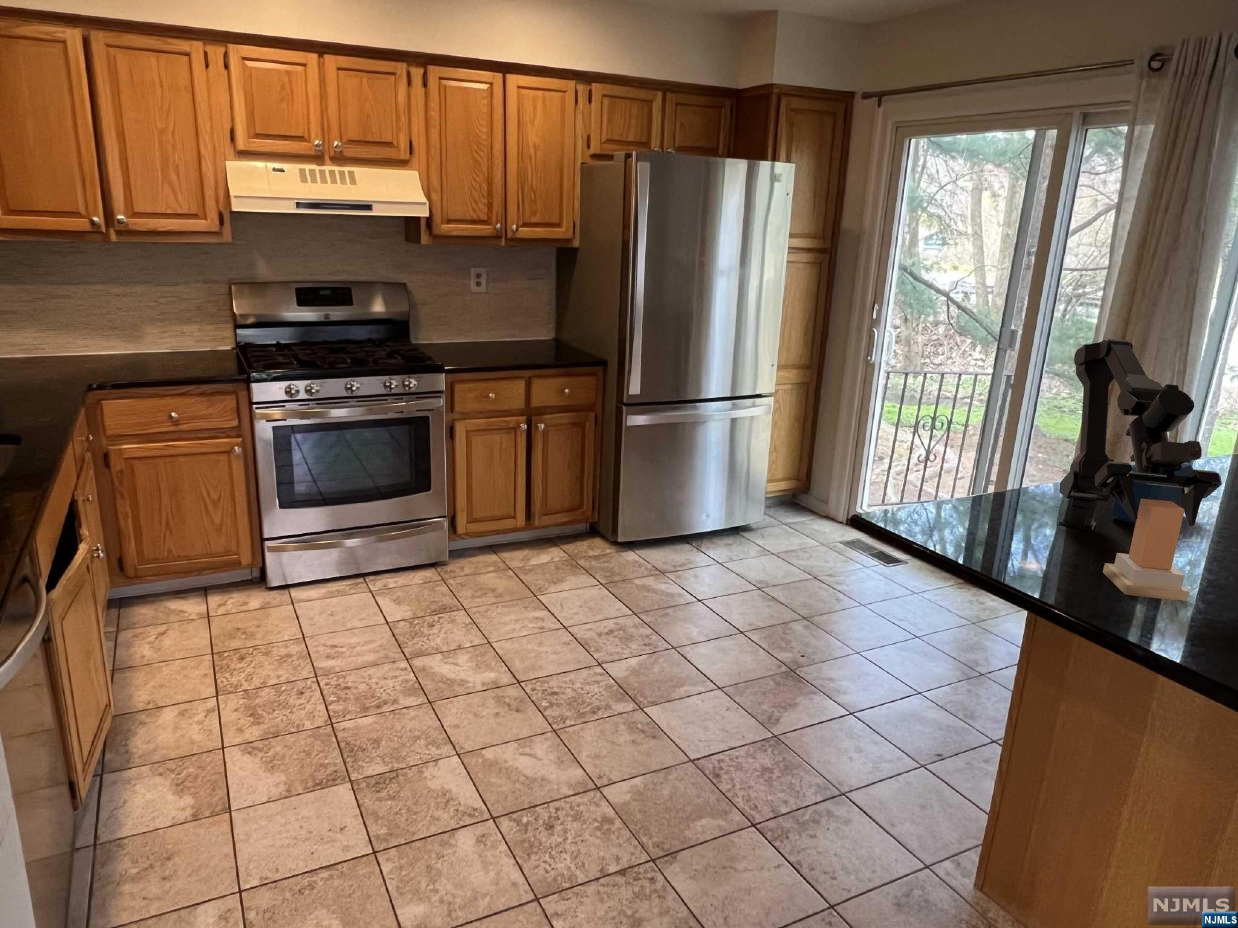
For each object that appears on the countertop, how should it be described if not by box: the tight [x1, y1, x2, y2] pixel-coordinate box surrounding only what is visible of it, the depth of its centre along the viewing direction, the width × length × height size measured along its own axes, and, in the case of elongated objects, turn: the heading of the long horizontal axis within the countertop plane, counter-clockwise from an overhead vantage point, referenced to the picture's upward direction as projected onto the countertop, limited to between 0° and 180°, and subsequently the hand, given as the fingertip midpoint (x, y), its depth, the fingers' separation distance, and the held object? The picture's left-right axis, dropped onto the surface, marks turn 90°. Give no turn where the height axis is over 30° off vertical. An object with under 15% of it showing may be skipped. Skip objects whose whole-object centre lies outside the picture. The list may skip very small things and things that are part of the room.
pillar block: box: [1128, 499, 1185, 570], centre depth 149 cm, size 5×5×11 cm
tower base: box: [1102, 562, 1190, 602], centre depth 151 cm, size 10×10×2 cm
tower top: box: [1113, 552, 1186, 589], centre depth 150 cm, size 8×8×2 cm
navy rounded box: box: [1111, 429, 1195, 525], centre depth 188 cm, size 21×9×20 cm, turn 126°
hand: (1163, 522), depth 146 cm, fingers open, 9 cm apart
